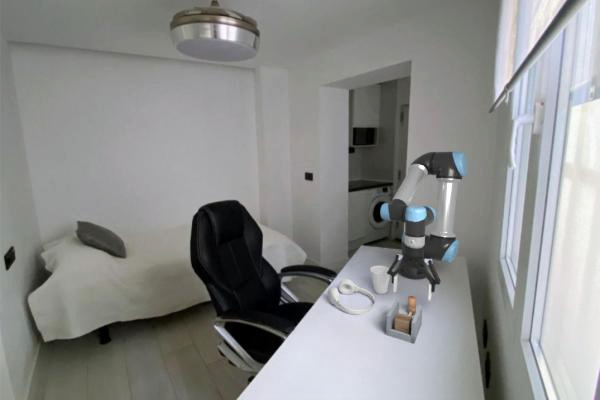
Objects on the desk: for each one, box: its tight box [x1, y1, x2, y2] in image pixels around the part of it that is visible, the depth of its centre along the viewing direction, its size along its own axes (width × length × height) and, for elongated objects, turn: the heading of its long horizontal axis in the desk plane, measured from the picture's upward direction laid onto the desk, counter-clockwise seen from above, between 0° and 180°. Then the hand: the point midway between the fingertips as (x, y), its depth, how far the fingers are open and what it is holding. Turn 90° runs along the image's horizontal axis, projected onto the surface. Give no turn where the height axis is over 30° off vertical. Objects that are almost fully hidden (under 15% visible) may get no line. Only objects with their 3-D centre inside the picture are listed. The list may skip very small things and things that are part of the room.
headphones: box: [327, 278, 376, 316], centre depth 134 cm, size 7×18×20 cm
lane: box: [385, 299, 423, 344], centre depth 113 cm, size 13×10×8 cm
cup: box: [369, 265, 391, 295], centre depth 142 cm, size 10×10×11 cm
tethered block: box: [394, 295, 417, 335], centre depth 117 cm, size 19×5×7 cm, turn 148°
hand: (412, 294), depth 123 cm, fingers open, 13 cm apart
